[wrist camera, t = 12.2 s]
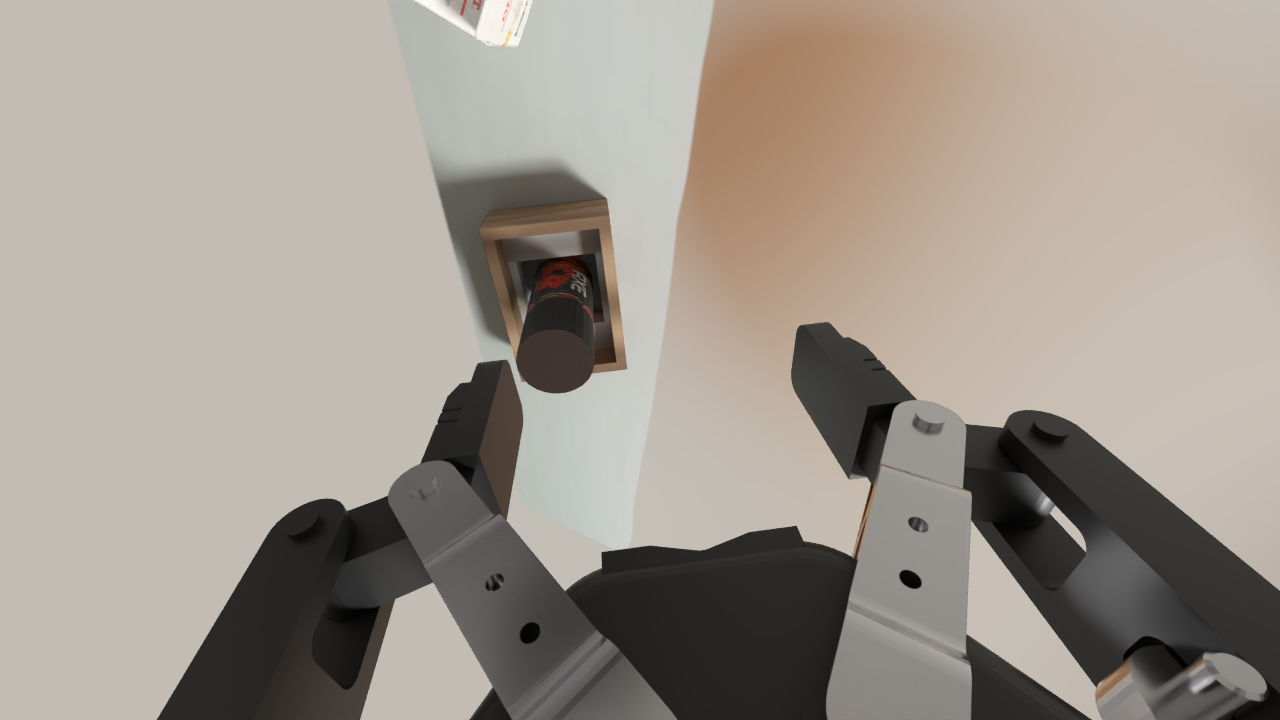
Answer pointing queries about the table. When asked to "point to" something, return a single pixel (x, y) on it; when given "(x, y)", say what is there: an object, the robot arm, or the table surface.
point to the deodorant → (558, 327)
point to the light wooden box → (550, 237)
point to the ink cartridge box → (484, 18)
